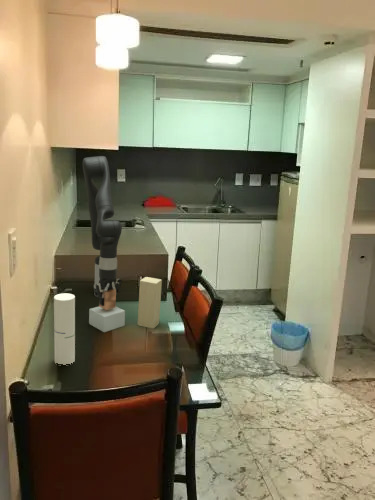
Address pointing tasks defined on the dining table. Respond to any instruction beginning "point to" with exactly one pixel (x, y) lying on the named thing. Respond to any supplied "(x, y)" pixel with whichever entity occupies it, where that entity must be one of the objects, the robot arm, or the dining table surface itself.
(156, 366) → the dining table surface
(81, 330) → the dining table surface
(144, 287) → the tall beige block
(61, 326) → the cylindrical container
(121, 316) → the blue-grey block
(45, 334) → the dining table surface
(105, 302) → the terracotta block
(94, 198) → the robot arm
